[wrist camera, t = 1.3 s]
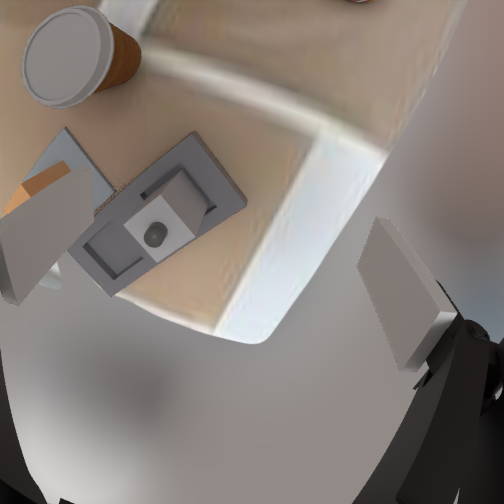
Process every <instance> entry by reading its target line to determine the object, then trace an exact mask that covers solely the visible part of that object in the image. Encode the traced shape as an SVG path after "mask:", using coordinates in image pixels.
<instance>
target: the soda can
mask: <svg viewBox="0 0 504 504" xmlns="http://www.w3.org/2000/svg"><path fill="white" fill-rule="evenodd" d="M351 1H355V2H369V1H372V0H351Z"/></svg>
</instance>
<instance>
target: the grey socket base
mask: <svg viewBox="0 0 504 504" xmlns="http://www.w3.org/2000/svg"><path fill="white" fill-rule="evenodd" d="M246 206H247V199H246V197H245V196H244V195H243V193H242V192H241V191H240V189H239V188H238V187H237V185H236V184H235V183H234V181H233V180H232V179H231V177H230V176H229V175H228V173H227V172H226V171H225V169H224V168H223V167H222V165H221V164H220V163H219V161H218V160H217V159H216V158H215V156H214V155H213V154H212V152H211V151H210V150H209V148H208V147H207V146H206V144H205V143H204V142H203V141H202V139H201V138H200V137H199V135H198V134H197V133H196V132H193V133H192V134H191V135H189V136H188V137H187V138H185V139H184V140H183V141H181V142H180V143H179V144H178V145H176V146H175V147H174V148H172V149H171V150H170V151H169V152H167V153H166V154H165V155H164V156H162V157H161V158H160V159H159V160H158V161H156V162H155V163H154V164H153V165H151V166H150V167H149V168H148V169H147V170H145V171H144V172H143V173H142V174H141V175H140V176H138V177H137V178H136V179H135V180H134V181H133V182H132V183H130V184H129V185H128V186H127V187H126V188H125V189H124V190H122V191H121V192H120V193H119V194H118V195H117V196H116V197H115V198H114V199H113V200H111V201H110V202H109V203H108V204H107V205H106V206H105V207H104V208H103V209H102V210H101V211H100V212H99V213H98V214H97V215H96V216H95V217H94V222H93V223H92V224H91V225H90V226H89V227H88V228H87V229H86V230H85V231H84V232H83V233H82V234H81V235H80V236H79V238H78V239H77V240H76V241H75V242H74V243H73V244H72V245H71V246H70V247H69V248H68V249H67V251H68V252H69V253H70V254H71V256H72V257H73V258H74V259H75V260H76V261H77V262H78V263H79V264H80V265H81V267H82V268H83V269H84V270H85V271H86V272H87V273H88V274H89V275H90V276H91V277H92V278H93V279H94V280H95V281H96V282H97V283H98V285H99V286H100V287H101V288H102V289H103V290H104V291H105V292H106V293H107V294H108V295H109V296H110V297H112V296H113V295H115V294H116V293H118V292H119V291H120V290H122V289H123V288H125V287H126V286H128V285H129V284H130V283H132V282H133V281H135V280H136V279H138V278H139V277H141V276H142V275H143V274H145V273H146V272H148V271H149V270H151V269H152V268H154V267H155V266H157V265H158V264H159V263H161V262H162V261H164V260H165V259H167V258H168V257H170V256H171V255H173V254H174V253H176V252H177V251H179V250H180V249H182V248H183V247H185V246H186V245H188V244H189V243H191V242H192V241H194V240H195V239H197V238H198V237H200V236H201V235H203V234H204V233H206V232H207V231H209V230H210V229H212V228H213V227H215V226H217V225H218V224H220V223H221V222H223V221H224V220H226V219H227V218H229V217H230V216H232V215H234V214H235V213H237V212H238V211H240V210H241V209H243V208H245V207H246Z"/></svg>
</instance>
